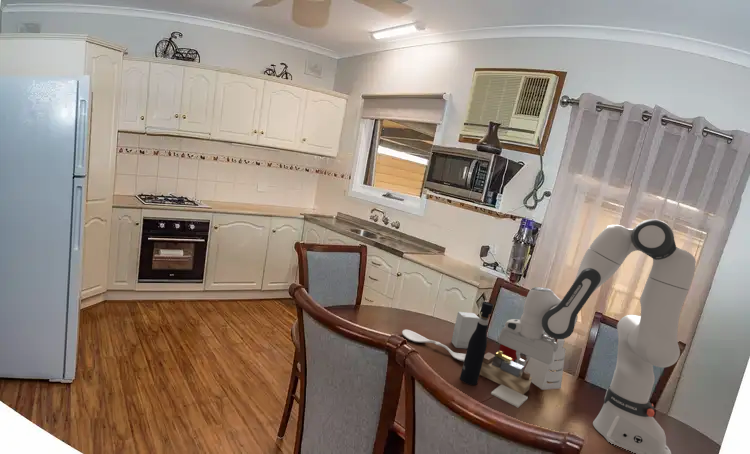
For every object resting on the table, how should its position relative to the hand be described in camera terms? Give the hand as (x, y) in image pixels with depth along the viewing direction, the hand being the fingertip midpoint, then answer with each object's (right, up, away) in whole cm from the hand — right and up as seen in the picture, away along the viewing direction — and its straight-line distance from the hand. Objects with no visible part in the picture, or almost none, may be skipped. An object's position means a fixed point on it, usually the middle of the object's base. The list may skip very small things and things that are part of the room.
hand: (520, 364), depth 161 cm
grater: (+12, -11, +11) cm, 19 cm away
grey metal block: (-3, -3, +2) cm, 5 cm away
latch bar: (-5, +1, +4) cm, 7 cm away
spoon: (-29, -1, +22) cm, 36 cm away
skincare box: (-16, -2, +31) cm, 35 cm away
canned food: (0, -7, +20) cm, 21 cm away
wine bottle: (-20, -6, -1) cm, 20 cm away
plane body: (-6, -8, +4) cm, 10 cm away
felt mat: (-6, -9, -7) cm, 13 cm away
